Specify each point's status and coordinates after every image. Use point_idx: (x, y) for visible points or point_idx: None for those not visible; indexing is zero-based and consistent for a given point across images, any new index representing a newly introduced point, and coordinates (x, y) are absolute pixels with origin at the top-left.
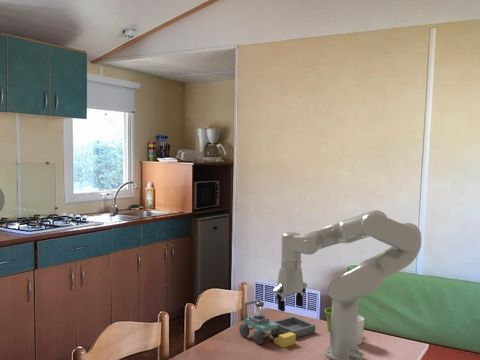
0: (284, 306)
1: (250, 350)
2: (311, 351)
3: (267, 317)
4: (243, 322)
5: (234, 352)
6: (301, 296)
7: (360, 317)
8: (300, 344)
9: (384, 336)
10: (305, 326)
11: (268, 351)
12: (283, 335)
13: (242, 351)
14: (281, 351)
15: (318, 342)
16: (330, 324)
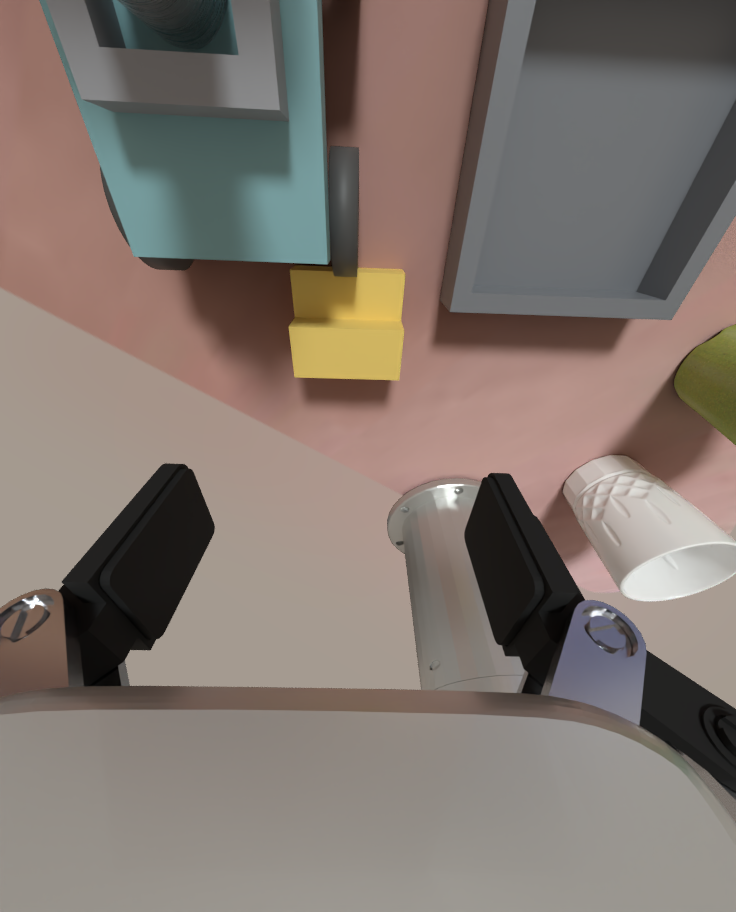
0: (184, 576)
1: (88, 268)
2: (385, 451)
3: (274, 60)
4: None
5: None
6: (518, 649)
7: (718, 572)
8: (408, 378)
9: (729, 508)
10: (683, 217)
11: (197, 344)
12: (317, 347)
13: (25, 246)
14: (264, 382)
15: (496, 411)
16: (714, 389)
